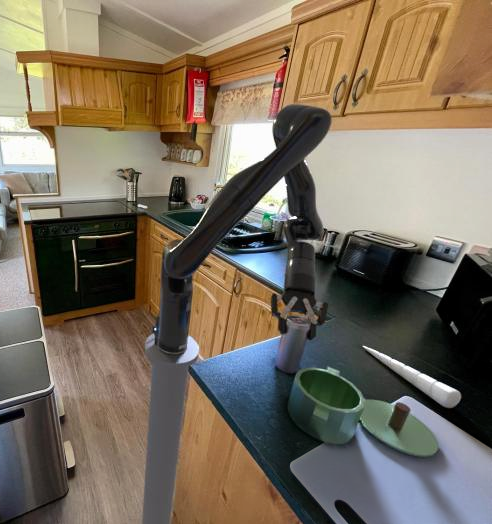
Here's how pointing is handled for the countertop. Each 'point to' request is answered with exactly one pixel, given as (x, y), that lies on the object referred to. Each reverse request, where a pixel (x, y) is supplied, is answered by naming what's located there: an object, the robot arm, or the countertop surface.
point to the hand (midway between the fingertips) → (296, 336)
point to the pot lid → (398, 428)
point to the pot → (325, 405)
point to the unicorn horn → (421, 381)
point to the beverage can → (292, 343)
